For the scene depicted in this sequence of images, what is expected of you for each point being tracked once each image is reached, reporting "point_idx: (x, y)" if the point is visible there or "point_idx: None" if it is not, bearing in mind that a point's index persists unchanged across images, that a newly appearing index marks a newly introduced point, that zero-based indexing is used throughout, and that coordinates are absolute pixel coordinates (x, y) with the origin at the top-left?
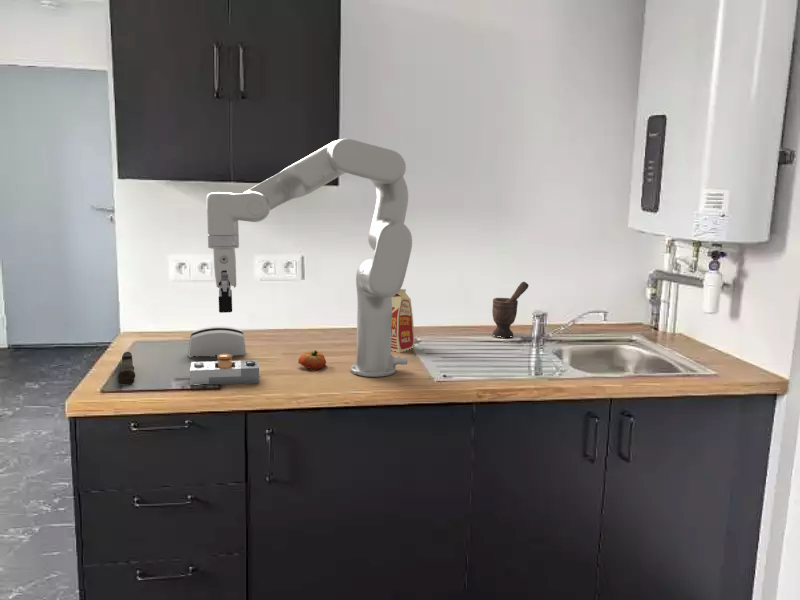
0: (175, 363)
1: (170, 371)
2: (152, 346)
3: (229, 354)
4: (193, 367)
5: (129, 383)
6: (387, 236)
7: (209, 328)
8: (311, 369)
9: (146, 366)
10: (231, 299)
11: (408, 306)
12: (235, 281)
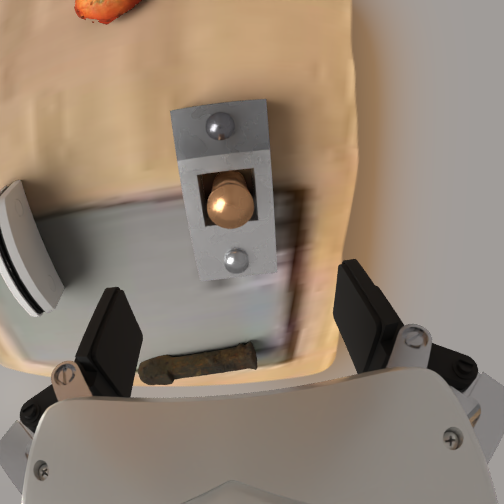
0: None
1: (164, 304)
2: (35, 343)
3: (216, 195)
4: (250, 269)
5: (252, 344)
6: None
7: (16, 289)
8: None
9: None
10: (388, 308)
11: None
12: (459, 404)
